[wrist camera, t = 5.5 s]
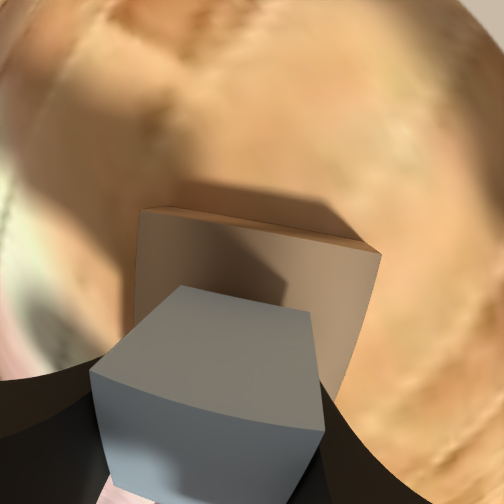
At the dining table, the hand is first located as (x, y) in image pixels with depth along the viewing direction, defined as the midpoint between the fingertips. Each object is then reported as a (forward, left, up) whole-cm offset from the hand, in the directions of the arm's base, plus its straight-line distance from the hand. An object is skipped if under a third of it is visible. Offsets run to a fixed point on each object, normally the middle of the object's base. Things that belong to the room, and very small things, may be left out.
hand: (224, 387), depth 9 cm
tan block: (0, 0, -6) cm, 6 cm away
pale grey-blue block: (0, 0, -2) cm, 2 cm away
